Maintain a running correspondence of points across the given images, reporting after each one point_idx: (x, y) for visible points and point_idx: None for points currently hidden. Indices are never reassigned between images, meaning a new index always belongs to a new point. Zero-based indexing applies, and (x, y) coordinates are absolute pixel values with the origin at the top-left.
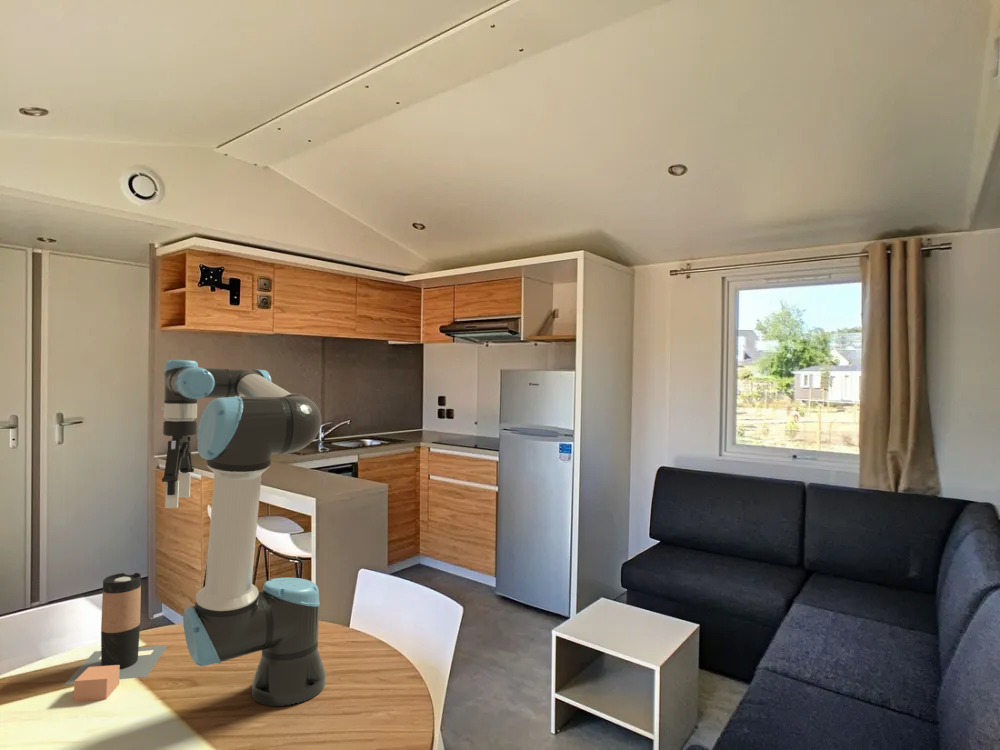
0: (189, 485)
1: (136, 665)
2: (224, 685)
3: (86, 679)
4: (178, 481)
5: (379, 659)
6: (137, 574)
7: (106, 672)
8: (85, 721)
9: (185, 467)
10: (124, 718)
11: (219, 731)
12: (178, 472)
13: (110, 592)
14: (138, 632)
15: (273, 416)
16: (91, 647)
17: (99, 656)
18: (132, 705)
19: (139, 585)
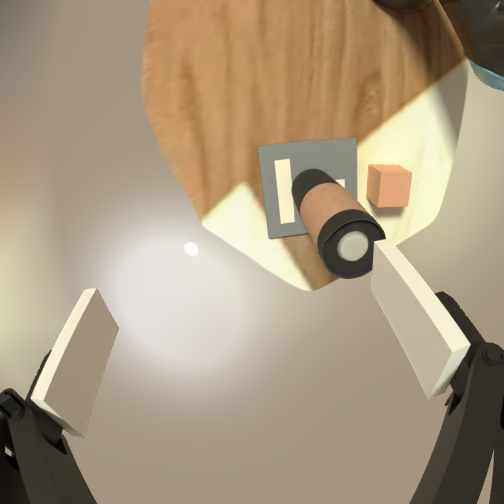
0: (72, 334)
1: (322, 164)
2: (382, 41)
3: (407, 195)
4: (459, 346)
5: None
6: (332, 232)
7: (396, 179)
8: (426, 170)
9: (54, 452)
10: (430, 134)
11: (459, 45)
12: (478, 411)
13: None
14: (323, 179)
15: None
16: (246, 250)
17: (285, 224)
18: (409, 134)
19: (353, 210)
